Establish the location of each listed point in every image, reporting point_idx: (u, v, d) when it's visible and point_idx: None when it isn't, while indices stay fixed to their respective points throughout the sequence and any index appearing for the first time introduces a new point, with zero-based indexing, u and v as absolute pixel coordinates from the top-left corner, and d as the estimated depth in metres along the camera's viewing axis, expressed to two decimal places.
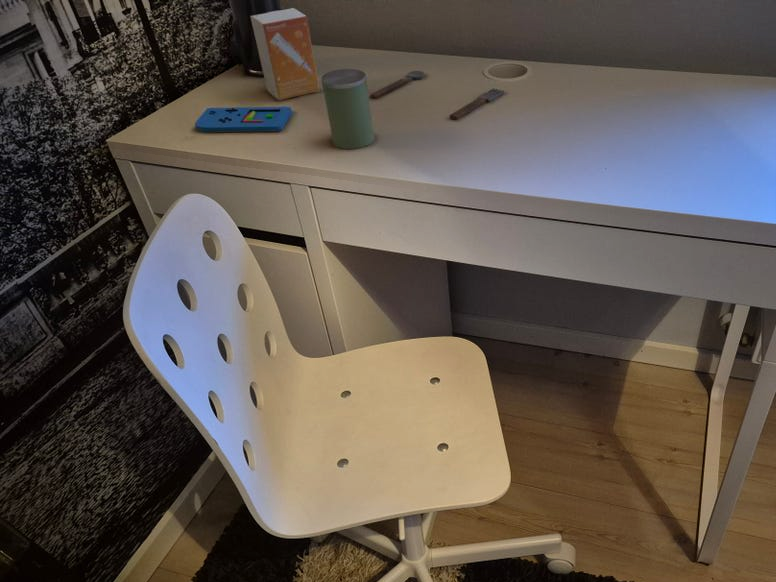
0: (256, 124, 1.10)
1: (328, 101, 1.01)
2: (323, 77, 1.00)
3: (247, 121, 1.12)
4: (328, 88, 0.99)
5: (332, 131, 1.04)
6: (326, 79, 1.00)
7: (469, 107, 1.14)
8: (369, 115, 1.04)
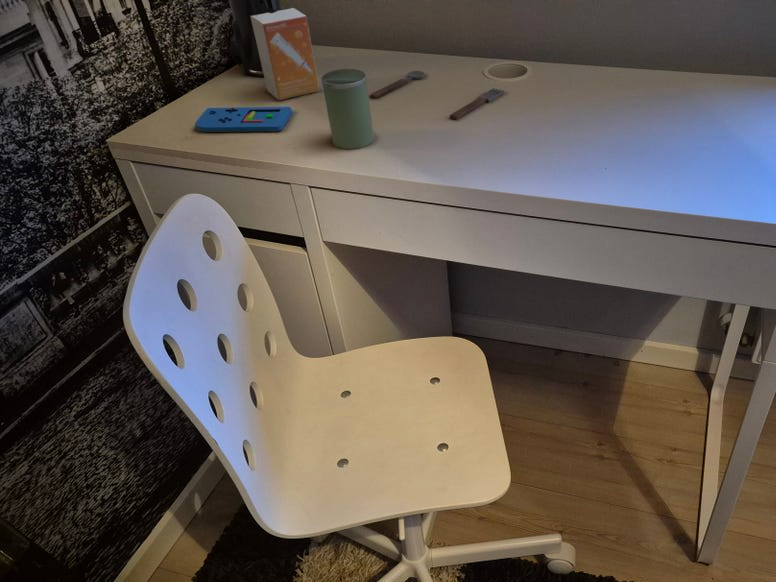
0: (256, 124, 1.10)
1: (328, 101, 1.01)
2: (323, 77, 1.00)
3: (247, 121, 1.12)
4: (328, 88, 0.99)
5: (332, 131, 1.04)
6: (326, 79, 1.00)
7: (469, 107, 1.14)
8: (369, 115, 1.04)
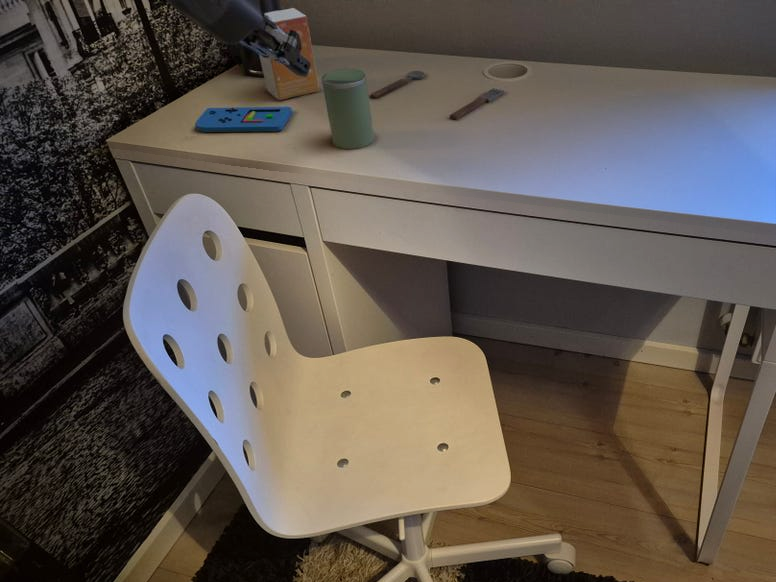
0: (256, 124, 1.10)
1: (328, 101, 1.01)
2: (323, 77, 1.00)
3: (247, 121, 1.12)
4: (328, 88, 0.99)
5: (332, 131, 1.04)
6: (326, 79, 1.00)
7: (469, 107, 1.14)
8: (369, 115, 1.04)
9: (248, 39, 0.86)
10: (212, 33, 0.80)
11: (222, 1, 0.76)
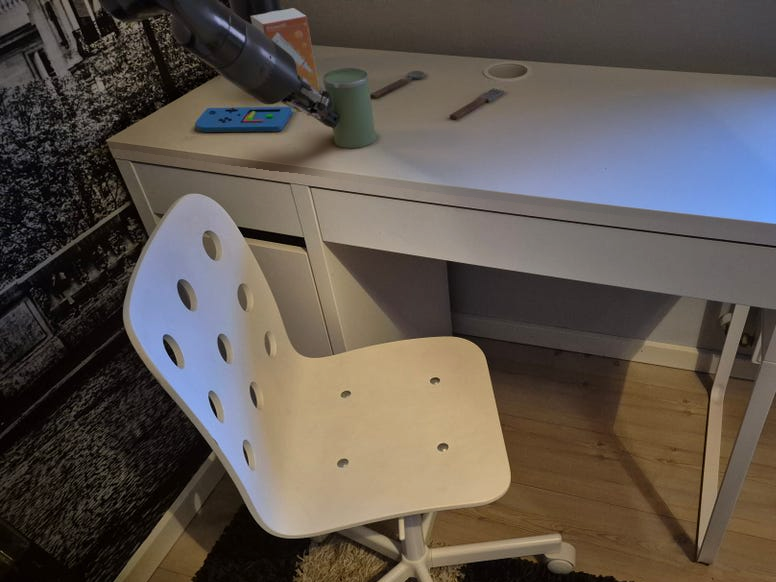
0: (256, 124, 1.10)
1: None
2: (324, 77, 1.01)
3: (247, 121, 1.12)
4: (330, 88, 0.99)
5: (334, 130, 1.05)
6: (327, 78, 1.00)
7: (469, 107, 1.14)
8: (371, 114, 1.04)
9: (284, 97, 0.94)
10: (253, 95, 0.88)
11: (264, 70, 0.84)
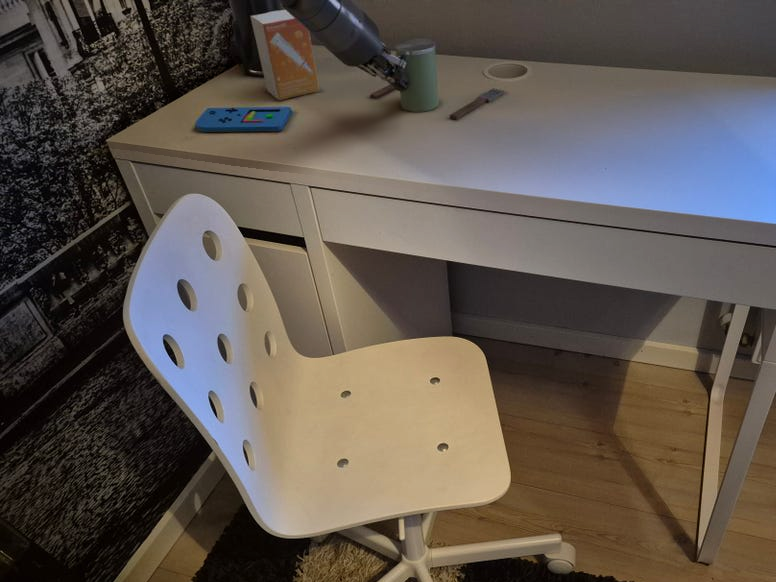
0: (256, 124, 1.10)
1: None
2: (396, 46, 1.10)
3: (247, 121, 1.12)
4: None
5: (403, 96, 1.15)
6: (399, 47, 1.10)
7: (469, 107, 1.14)
8: (436, 80, 1.14)
9: (364, 62, 1.04)
10: (341, 58, 0.98)
11: (354, 33, 0.94)
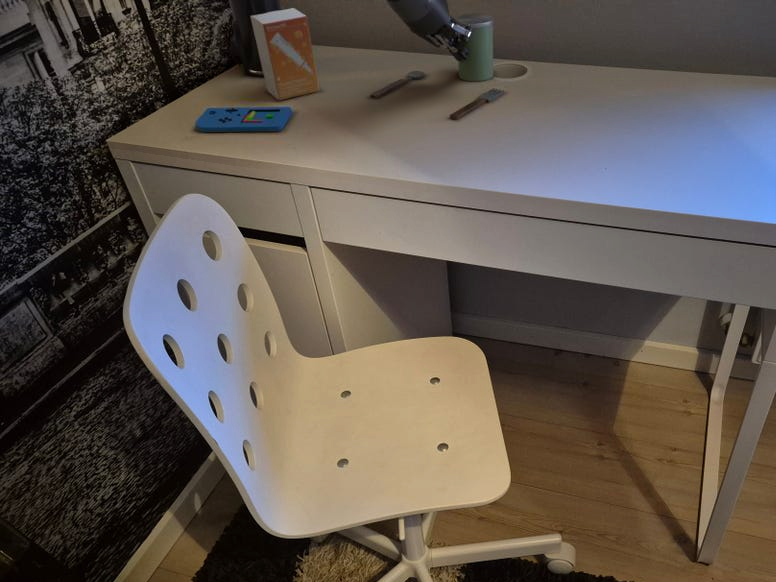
0: (256, 124, 1.10)
1: None
2: (457, 19, 1.20)
3: (247, 121, 1.12)
4: None
5: (461, 66, 1.24)
6: (461, 20, 1.20)
7: (469, 107, 1.14)
8: (492, 52, 1.24)
9: None
10: (414, 27, 1.08)
11: (429, 4, 1.04)
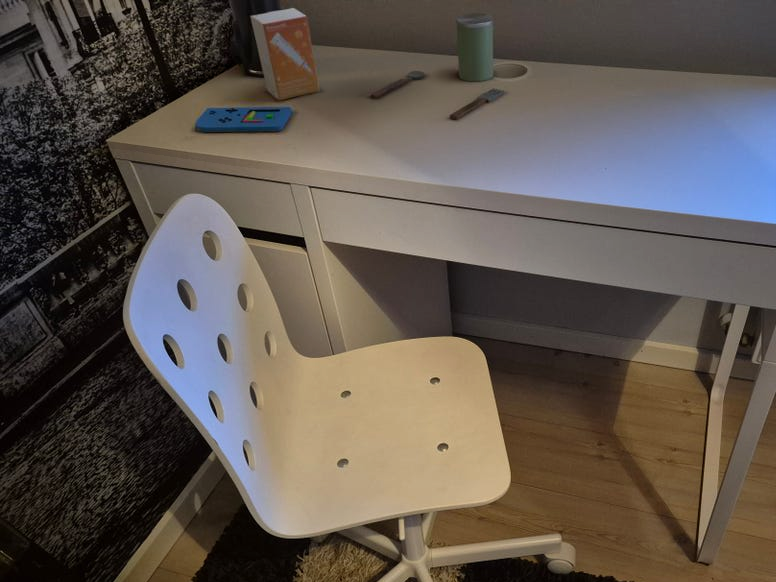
0: (256, 124, 1.10)
1: (462, 39, 1.21)
2: (457, 19, 1.20)
3: (247, 121, 1.12)
4: (464, 28, 1.19)
5: (461, 66, 1.24)
6: (461, 20, 1.20)
7: (469, 107, 1.14)
8: (492, 52, 1.24)
9: None
10: None
11: None
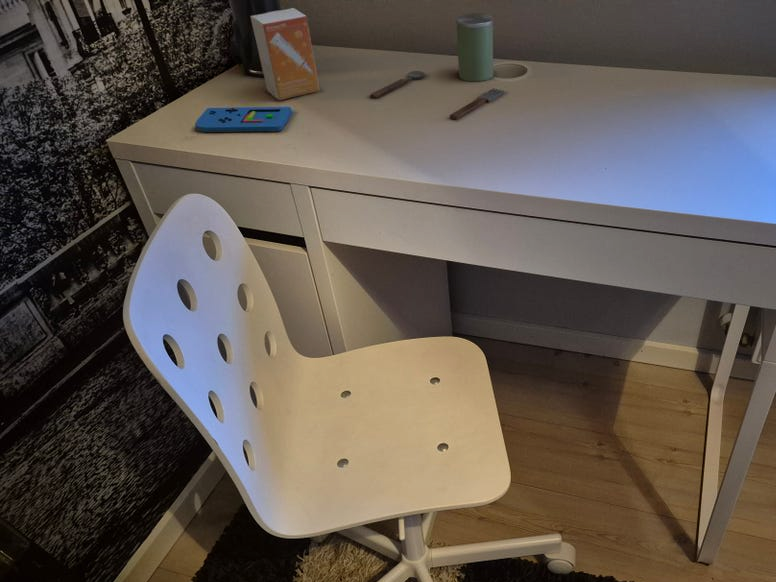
0: (256, 124, 1.10)
1: (462, 39, 1.21)
2: (457, 19, 1.20)
3: (247, 121, 1.12)
4: (464, 28, 1.19)
5: (461, 66, 1.24)
6: (461, 20, 1.20)
7: (469, 107, 1.14)
8: (492, 52, 1.24)
9: None
10: None
11: None
